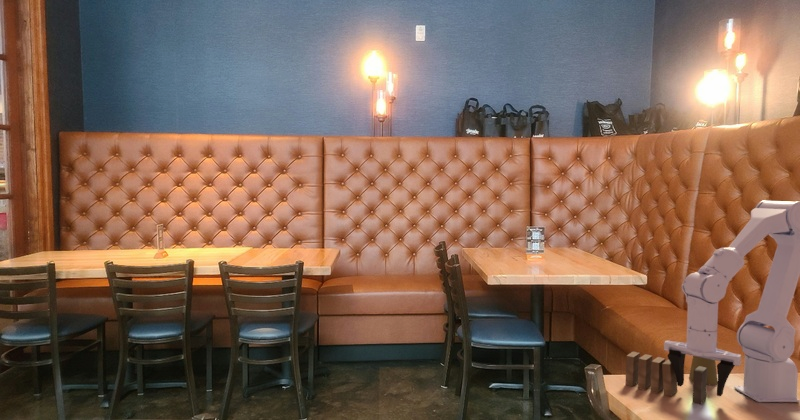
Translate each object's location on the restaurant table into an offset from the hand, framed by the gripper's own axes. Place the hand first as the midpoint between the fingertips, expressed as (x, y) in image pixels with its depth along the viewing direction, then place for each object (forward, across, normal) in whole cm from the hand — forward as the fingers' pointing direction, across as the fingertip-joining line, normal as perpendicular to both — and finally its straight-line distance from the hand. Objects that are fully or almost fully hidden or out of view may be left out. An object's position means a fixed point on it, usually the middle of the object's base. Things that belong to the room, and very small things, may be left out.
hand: (699, 389), depth 113 cm
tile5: (+2, -14, 0) cm, 14 cm away
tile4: (+2, -11, 0) cm, 12 cm away
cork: (+3, -3, +14) cm, 14 cm away
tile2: (+2, -6, 0) cm, 6 cm away
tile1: (+2, 0, 0) cm, 2 cm away
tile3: (+2, -9, 0) cm, 9 cm away
